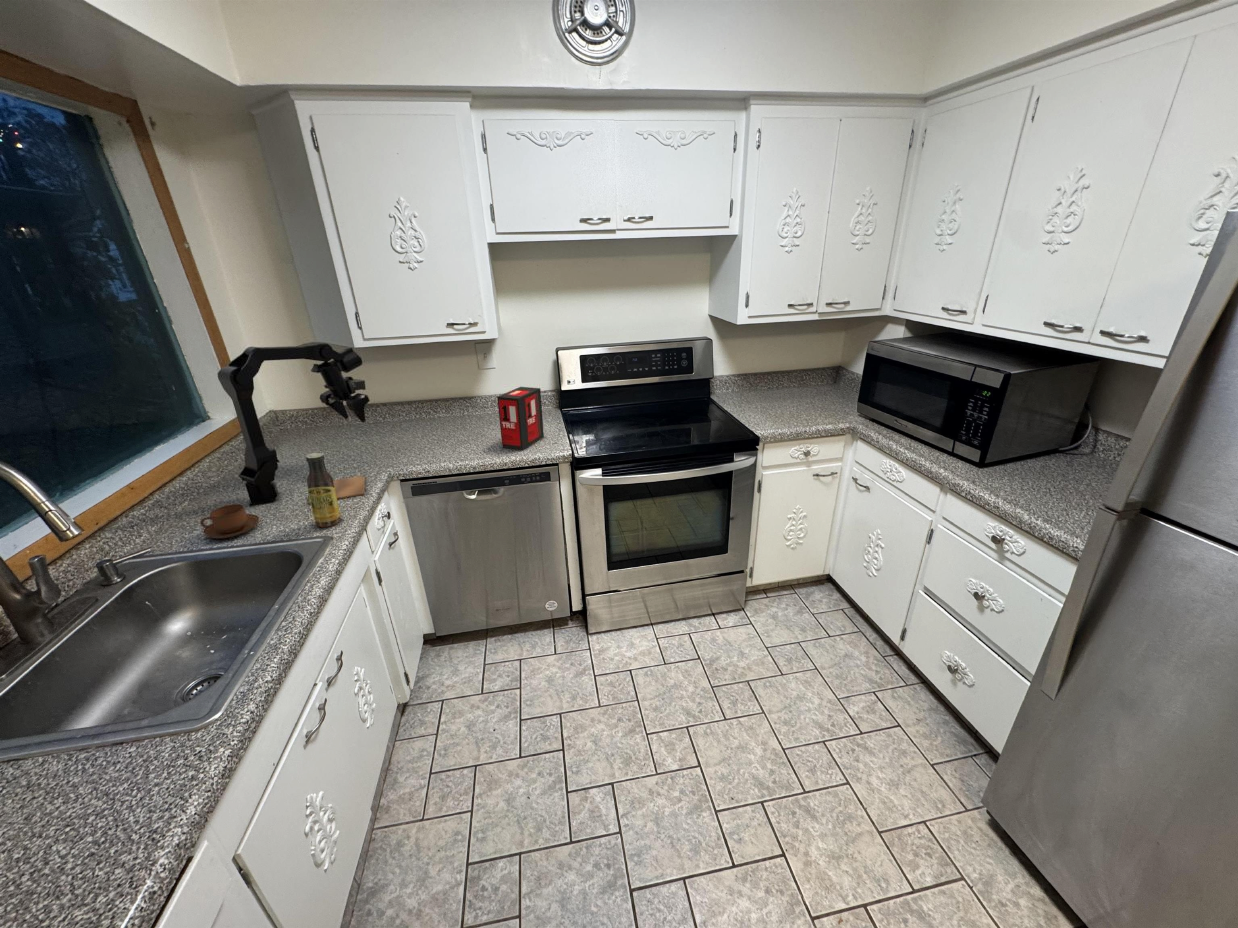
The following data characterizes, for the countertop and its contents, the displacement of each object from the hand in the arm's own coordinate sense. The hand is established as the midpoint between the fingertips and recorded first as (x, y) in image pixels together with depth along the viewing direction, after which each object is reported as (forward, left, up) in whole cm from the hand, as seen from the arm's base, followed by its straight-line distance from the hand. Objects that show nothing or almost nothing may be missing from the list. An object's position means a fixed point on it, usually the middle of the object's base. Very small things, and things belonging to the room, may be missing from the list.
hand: (355, 420), depth 173 cm
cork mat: (-7, -22, -16) cm, 28 cm away
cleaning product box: (+57, -4, -16) cm, 59 cm away
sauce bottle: (-8, -45, -16) cm, 48 cm away
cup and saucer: (-31, -39, -16) cm, 52 cm away
